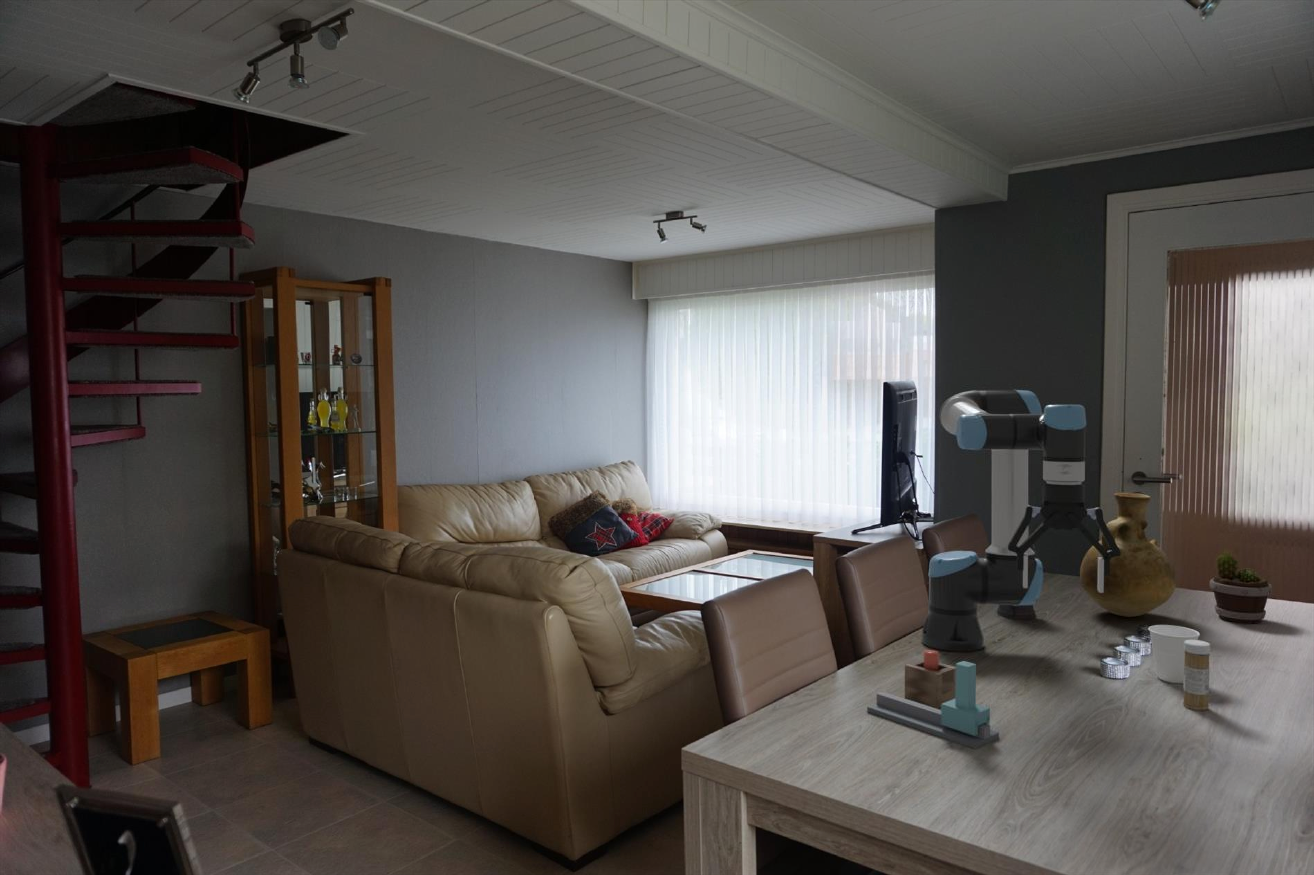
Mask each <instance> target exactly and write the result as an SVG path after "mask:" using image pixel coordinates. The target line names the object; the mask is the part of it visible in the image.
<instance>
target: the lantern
mask: <svg viewBox="0 0 1314 875" xmlns="http://www.w3.org/2000/svg"><path fill="white" fill-rule="evenodd" d="M1029 525H1030V524H1028V537H1029V536H1030V535H1031V533H1030V527H1029ZM1034 544H1035V543H1034ZM1034 544H1033V545H1032V548H1033V551H1034V552H1035V558H1036V559H1038V560H1040V561H1041V559H1040V558H1039V557H1038V553H1037V551H1036V547H1035V545H1034ZM1039 598H1040V596H1039V597H1038V599H1037V601H1036V602H1035V603H1037V602H1038V600H1039ZM995 612H996V615H998V616H1001V617H1003V618H1008V619H1016V620H1029V619H1033V618H1036V617H1037V614H1036V611H1035V609H1034V604H1032V605H1019V606H1014V605H998V606H997V607H996V611H995Z"/></svg>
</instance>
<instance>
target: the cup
mask: <svg viewBox="0 0 1314 875" xmlns="http://www.w3.org/2000/svg"><path fill="white" fill-rule="evenodd" d="M1147 630H1148V631H1149V633H1150V634H1149V635H1150V636H1149V637H1150V642H1151V646H1152V653H1153V660H1154V666H1155V671H1156V677H1157V678H1158V679H1160V680H1161V681H1163V682H1166V683H1171V684H1184V663H1185V650H1184V641H1186V640H1199V637H1200V636H1201V634H1200V632H1199V631H1197V630H1196V629H1192V628H1190V627H1189V628H1188V627H1185V626H1181V625H1171V624H1170V625H1169V624H1155V625H1151V626H1149V627H1148V629H1147Z"/></svg>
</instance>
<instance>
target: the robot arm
mask: <svg viewBox="0 0 1314 875" xmlns="http://www.w3.org/2000/svg"><path fill="white" fill-rule="evenodd" d="M938 413H939V414H938V417H939V422H940V425H941V426H942V427H943V429H944V430H945V431H947V432H948V433H949V434H951V435H954V436H956V441H957V445H958V447H959V448H960V449H962V450H972V451H979V450H980V451H981V450H991V544H990V545H989V546H988V547H987V548H986V549H985V557H979V556H978V553H976V552H975V551H971V550H952V551H945V552H941V553H938V554H936V555H933V556H932V557H931V558H930V561H929V565H928V574H927V575H928V613H927V616H926V619H925V622H924V623H923V624H924V625H923V627H922V630H921V635H920V636H921V639H920V640H921V643H922V644H923V645H925V646H927V647H929V648H933V649H934V650H935V649H936V650H939V651H940V650H941V651H947V652H957V653H959V652H960V653H962V652H966V653H967V652H974V651H975V652H976V651H980V650H981V649H983V648H984V647H985V641H984V640H985V639H984V634H983V631H982V627H981V625H980V624H981V623H980V622H979V618H978V613H977V612H978V611H977V610H978V608H977V607H978V605H994V606H995V605H998V606H999V605H1014V606H1019V605H1032V604H1033V605H1034V604H1035V603H1037V602H1038V601H1037V599H1038V600H1039V598H1040V595H1041V592H1042V588H1043V584H1044V583H1043V581H1044V571H1043V570H1044V569H1043V568H1044V566H1043V562H1042V561H1041V559H1040V560H1038V559H1036V558H1037V557H1036V554H1035V551H1034V549H1032V548H1031V547H1033V544H1035V543H1036V542H1037V541H1038V540H1039V539H1040V538H1041V537H1042V535H1044V533H1045V532H1047V531H1048V530H1049V529H1050V528H1052V530H1053V529H1054V530H1055V531H1056V530H1058V531H1060V530H1067V531H1073V530H1075V529H1076V528H1077V530H1078V531H1079V532H1081V533H1082V535H1083V536H1084V537H1085V538H1086V539H1087V540H1088V541H1089V542H1090V544H1091V546H1094V547H1095V548H1096V549H1097V550H1098V551H1099V553H1100V554H1101V555H1102V557H1098V580H1097V590H1098V592H1099V593H1103V590H1104V575H1109V574H1110V559H1111V558H1113V557H1116V556H1120V555H1121V552H1120V550H1119V548H1118V546H1117V544H1116V543H1115V541H1114V539H1113V537H1112V535H1111V533H1110V531H1109V529H1108V528H1107V526H1106V525H1107V523H1106V521H1104V514H1103V510H1102V509H1101V507H1098V506H1097V507H1094V508H1086V505H1085V498H1086V497H1085V496H1086V495H1085V493H1086V492H1085V491H1086V490H1085V487H1086V486H1085V485H1084V484H1083V483H1082V482H1085V477H1086V475H1085V473H1086V472H1085V469H1086V431H1087V430H1086V426H1087V425H1088V424H1087V419H1086V409H1085V407H1084V405H1081V404H1048V405H1046V406H1045V407H1044V409H1043V411H1042V406H1041V403H1040V401H1039V398H1038V396H1037V395H1036V394H1035V393H1034V392H1033V391H1030V390H1022V389H1021V390H1020V389H1019V390H1018V389H1009V390H1008V389H1007V390H1006V389H1004V390H1003V389H1002V390H1000V389H999V390H998V389H997V390H995V389H994V390H968V391H963V392H959V393H956V394H953V396H951V397H949V398H948V399H946V400H945V401H944V402H942V405H941V407H940V410H939V412H938ZM1030 450H1031V451H1032V450H1033V451H1034V450H1035V451H1041V450H1042V451H1043V453H1042V454H1043V457H1042V458H1043V459H1042V479H1043V480H1044V481H1045V482H1044V483H1043V484H1042V503H1041V506H1040V507H1038V506H1033V505H1031V504H1029V451H1030ZM1037 514H1040V515H1041V516H1042V518H1043V519H1044V520H1043V521H1042V522H1041V523H1040V525H1039V526H1038V527H1037V528H1036V529H1035V530H1034V531H1033V532H1031V533H1030V536H1029V534H1028V525H1030V522H1031V520H1032V518H1035V517H1037ZM1087 515H1089V516H1090V518H1091V519H1092V520H1095V522H1096V524H1097V527H1098V528H1099V530H1100V532H1101V534H1103V536H1104V538H1105V539H1106V541H1107V543H1108V545H1109V547H1110V549H1111V550H1109V551H1106V550H1105V548H1104V547H1103V546H1102V545H1101V544H1100V543H1099V540H1098V539H1097V538H1096V537H1095V536H1094V535H1093V534H1092V533H1091V532H1090V531H1089V530H1088V528H1087V527H1086V526H1085V525H1084V524H1083V521H1084V519H1085V518H1087ZM1035 557H1036V558H1035ZM1038 597H1039V598H1038ZM1036 601H1037V602H1036Z"/></svg>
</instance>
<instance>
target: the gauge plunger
mask: <svg viewBox="0 0 1314 875" xmlns="http://www.w3.org/2000/svg"><path fill="white" fill-rule="evenodd" d="M939 652H940V651H937V650H935V649H934V650H933V649H928V650H927V649H925V650H924V651H923V659H924V668H926V669H929V670H933V671H939V663H940V661H939V660H940V658H939V656H940V655H939V654H940V653H939Z"/></svg>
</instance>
